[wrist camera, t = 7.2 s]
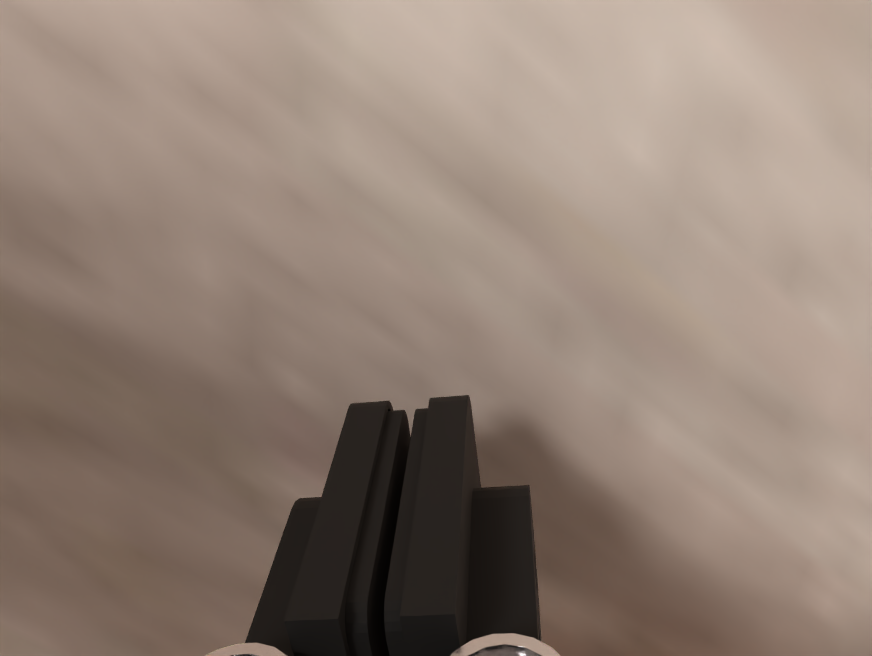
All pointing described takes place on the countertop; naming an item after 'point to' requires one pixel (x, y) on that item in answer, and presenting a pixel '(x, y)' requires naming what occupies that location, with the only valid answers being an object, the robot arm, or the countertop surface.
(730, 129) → the countertop surface
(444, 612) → the robot arm
